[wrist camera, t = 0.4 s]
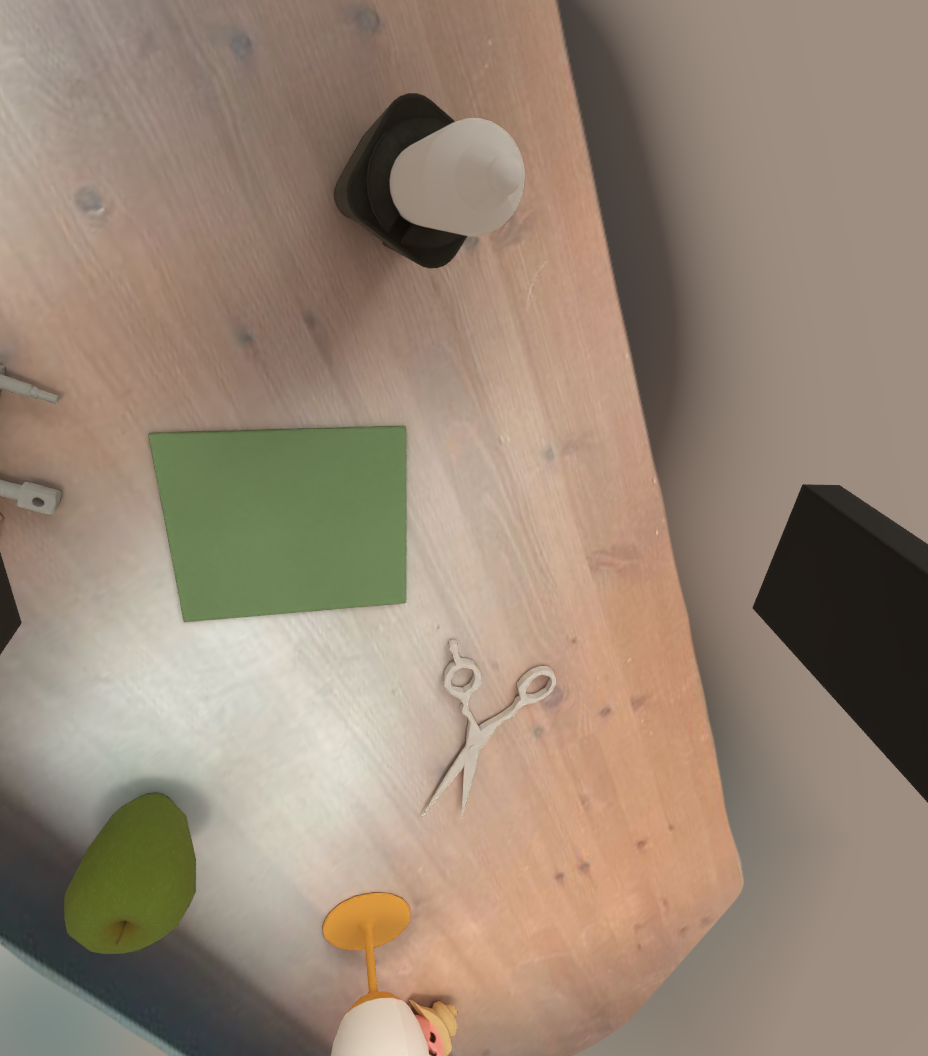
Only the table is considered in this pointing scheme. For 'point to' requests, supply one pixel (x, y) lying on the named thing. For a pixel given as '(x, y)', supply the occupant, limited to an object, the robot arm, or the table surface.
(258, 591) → the cloth
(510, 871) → the table surface
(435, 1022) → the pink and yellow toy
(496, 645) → the table surface
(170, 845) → the green rounded fruit
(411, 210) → the candle
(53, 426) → the table surface
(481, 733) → the scissors
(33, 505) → the clamp
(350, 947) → the cup
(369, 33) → the table surface
